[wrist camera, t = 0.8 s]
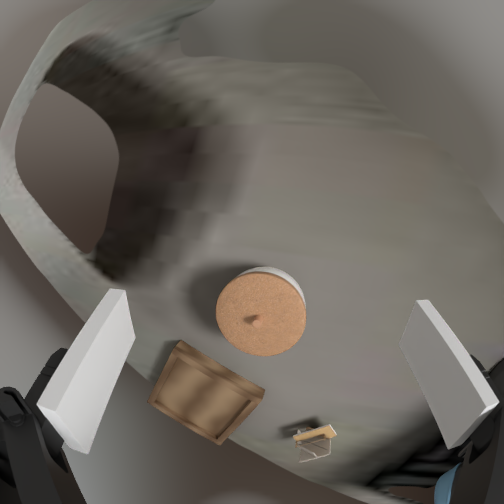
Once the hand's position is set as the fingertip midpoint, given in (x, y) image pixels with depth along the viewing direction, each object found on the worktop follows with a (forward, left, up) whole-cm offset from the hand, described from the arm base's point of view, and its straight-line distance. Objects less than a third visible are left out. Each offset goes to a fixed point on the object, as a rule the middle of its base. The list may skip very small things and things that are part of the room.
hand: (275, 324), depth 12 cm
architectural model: (-21, +28, -28) cm, 44 cm away
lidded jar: (-1, +10, -27) cm, 29 cm away
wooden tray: (-1, +33, -27) cm, 43 cm away
